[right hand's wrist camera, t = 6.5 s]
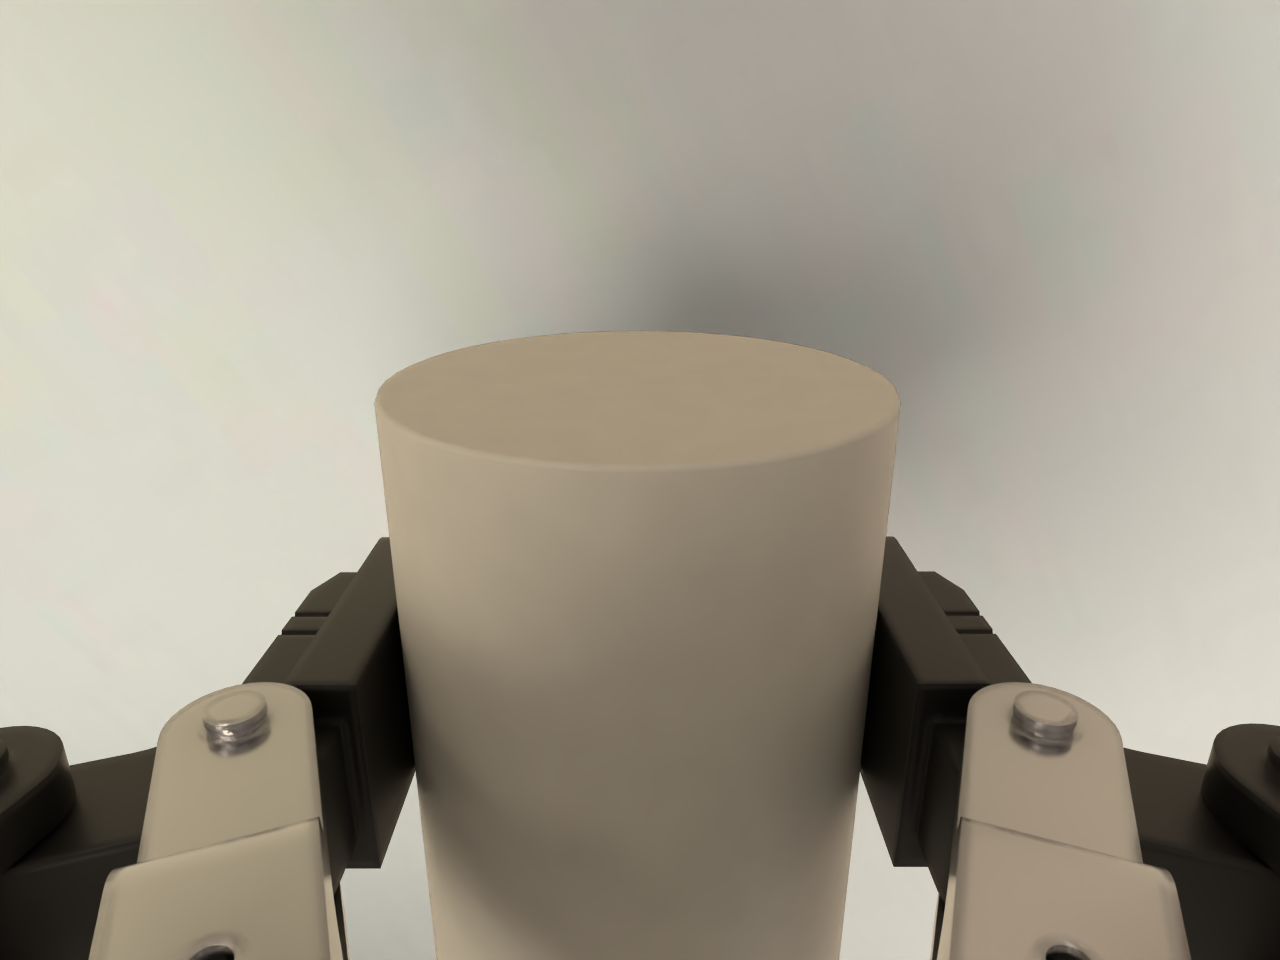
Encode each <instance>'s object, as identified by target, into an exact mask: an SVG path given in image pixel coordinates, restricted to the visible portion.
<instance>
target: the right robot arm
mask: <svg viewBox="0 0 1280 960" xmlns="http://www.w3.org/2000/svg"><path fill="white" fill-rule="evenodd" d="M992 630H993V629H992V628H991V627H990V625H989V624H988V623H987V621H986V620H985V618H984V617H983V616H980V615H979V610H978V609H977V608H976V606H975V605H974V603H973V602H972V601H971V599H970V598H969V597H968V595H967V594H966V593H965V591H964V590H963V589H961V588H960V587H958V586H956V585H955V584H953V583H952V582H950V581H949V580H947V579H945V578H944V577H942V576H941V575H939V574H938V573H936V572H917V570H916V569H915V567H914V566H913V564H912V562H911V561H910V559H909V558H908V556H907V555H906V553H905V552H904V550H903V549H902V547H901V546H900V544H899V543H898V541H897V540H896V538H895V537H886V540H885V549H884V558H883V567H882V576H881V585H880V594H879V603H878V612H877V621H876V630H875V639H874V648H873V657H872V666H871V675H870V684H869V693H868V702H867V711H866V720H865V729H864V738H863V747H862V757H861V766H860V772H861V775H862V778H863V781H864V784H865V787H866V789H867V792H868V795H869V798H870V801H871V804H872V807H873V809H874V812H875V815H876V818H877V821H878V824H879V826H880V829H881V832H882V835H883V838H884V841H885V843H886V846H887V849H888V852H889V855H890V858H891V860H892V863H893V866H894V867H928V868H929V870H930V873H931V875H932V878H933V880H934V883H935V885H936V888H937V890H938V899H937V906H936V912H935V920H934V929H933V938H932V947H931V956H930V960H1280V726H1275V725H1267V724H1240V725H1235V726H1231V727H1228V728H1226V729H1224V730H1222V731H1221V732H1220V733H1219V734H1217V736H1216V738H1215V740H1214V743H1213V746H1212V750H1211V753H1210V757H1209V760H1208V764H1207V765H1205V764H1200V763H1195V762H1190V761H1185V760H1180V759H1175V758H1170V757H1165V756H1160V755H1154V754H1149V753H1144V752H1140V751H1135V750H1131V749H1127V748H1123V744H1122V738H1121V735H1120V732H1119V730H1118V729H1117V727H1116V726H1115V724H1114V723H1113V722H1112V721H1111V720H1110V719H1109V717H1108V716H1106V715H1105V714H1104V713H1103V712H1102V711H1100V710H1099V709H1098V708H1096V707H1095V706H1093V705H1092V704H1090V703H1089V702H1087V701H1085V700H1083V699H1081V698H1079V697H1077V696H1075V695H1072V694H1070V693H1067V692H1065V691H1062V690H1059V689H1056V688H1052V687H1048V686H1044V685H1039V684H1032V683H1031V681H1030V680H1029V679H1028V677H1027V676H1026V674H1025V673H1024V672H1023V670H1022V669H1021V668H1020V666H1019V665H1018V664H1017V662H1016V661H1015V659H1014V658H1013V657H1012V655H1011V654H1010V653H1009V651H1008V650H1007V649H1006V647H1005V646H1004V644H1003V643H1002V642H1001V640H1000V639H999V638H998V636H997V635H996V634H993V632H992ZM415 770H416V769H415V760H414V752H413V743H412V734H411V725H410V716H409V707H408V698H407V689H406V680H405V671H404V662H403V654H402V645H401V636H400V627H399V618H398V609H397V600H396V591H395V582H394V573H393V564H392V556H391V547H390V538H389V537H382V538H380V539H379V541H378V542H377V544H376V545H375V547H374V548H373V550H372V551H371V553H370V554H369V556H368V557H367V559H366V560H365V562H364V563H363V565H362V566H361V568H360V569H359V571H358V572H340V573H339V574H337V575H336V576H334V577H332V578H331V579H329V580H328V581H326V582H325V583H323V584H321V585H320V586H318V587H317V588H315V589H313V590H312V591H311V592H310V593H309V595H308V596H307V597H306V599H305V600H304V601H303V603H302V604H301V605H300V607H299V608H298V609H297V611H296V612H295V617H291V619H290V620H289V621H288V623H287V624H286V625H285V627H284V628H283V629H282V635H278V636H277V638H276V639H275V640H274V642H273V643H272V644H271V646H270V647H269V648H268V650H267V651H266V652H265V654H264V655H263V656H262V658H261V659H260V660H259V662H258V663H257V664H256V666H255V667H254V669H253V670H252V671H251V673H250V674H249V675H248V677H247V678H246V679H245V681H244V682H243V683H242V684H241V685H236V686H232V687H228V688H224V689H221V690H218V691H215V692H213V693H210V694H208V695H205V696H203V697H201V698H199V699H197V700H195V701H193V702H191V703H190V704H188V705H187V706H185V707H184V708H182V709H181V710H180V711H178V712H177V713H176V714H175V715H174V716H172V717H171V719H170V720H169V721H168V722H167V723H166V724H165V726H164V727H163V729H162V730H161V732H160V735H159V738H158V743H157V747H154V748H151V749H148V750H144V751H140V752H136V753H131V754H126V755H121V756H116V757H111V758H106V759H101V760H96V761H91V762H86V763H81V764H76V765H71V766H69V764H68V760H67V757H66V753H65V750H64V746H63V743H62V741H61V739H60V737H59V736H58V735H56V734H55V733H54V732H52V731H50V730H48V729H44V728H40V727H32V726H13V727H5V728H0V960H350V956H349V947H348V938H347V929H346V920H345V912H344V906H343V899H342V893H341V887H340V881H341V878H342V876H343V873H344V871H345V868H381V865H382V862H383V859H384V857H385V854H386V851H387V848H388V845H389V843H390V840H391V837H392V834H393V832H394V829H395V826H396V823H397V820H398V818H399V815H400V812H401V809H402V807H403V804H404V801H405V798H406V795H407V793H408V790H409V787H410V784H411V782H412V779H413V776H414V773H415Z"/></svg>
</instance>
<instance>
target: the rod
mask: <svg viewBox="0 0 1280 960" xmlns="http://www.w3.org/2000/svg"><path fill="white" fill-rule="evenodd" d="M374 404H375V413H376V422H377V431H378V440H379V449H380V458H381V466H382V475H383V484H384V493H385V502H386V511H387V520H388V529H389V538H390V547H391V556H392V564H393V573H394V582H395V591H396V600H397V609H398V618H399V627H400V636H401V645H402V654H403V662H404V671H405V680H406V689H407V698H408V707H409V716H410V725H411V734H412V743H413V752H414V760H415V769H416V778H417V787H418V796H419V805H420V814H421V823H422V832H423V841H424V850H425V858H426V867H427V876H428V885H429V894H430V903H431V912H432V921H433V930H434V939H435V948H436V956H437V960H839V955H840V946H841V937H842V928H843V919H844V910H845V901H846V892H847V883H848V874H849V865H850V856H851V847H852V838H853V829H854V820H855V811H856V802H857V793H858V784H859V775H860V766H861V757H862V747H863V738H864V729H865V720H866V711H867V702H868V693H869V684H870V675H871V666H872V657H873V648H874V639H875V630H876V621H877V612H878V603H879V594H880V585H881V576H882V567H883V558H884V549H885V540H886V531H887V522H888V512H889V503H890V494H891V485H892V476H893V467H894V458H895V449H896V440H897V431H898V422H899V413H900V404H901V403H900V399H899V396H898V393H897V390H896V388H895V387H894V386H893V385H892V383H891V382H890V381H889V380H887V379H886V378H885V377H884V376H882V375H881V374H880V373H878V372H876V371H874V370H872V369H870V368H868V367H867V366H864V365H862V364H859V363H857V362H854V361H852V360H849V359H847V358H844V357H841V356H838V355H835V354H831V353H828V352H824V351H820V350H816V349H812V348H808V347H804V346H799V345H794V344H789V343H783V342H777V341H771V340H765V339H757V338H750V337H742V336H732V335H721V334H709V333H694V332H672V331H604V332H582V333H566V334H554V335H544V336H534V337H526V338H518V339H511V340H505V341H498V342H492V343H487V344H482V345H477V346H472V347H467V348H463V349H459V350H455V351H451V352H447V353H444V354H441V355H438V356H435V357H431V358H429V359H426V360H423V361H421V362H418V363H416V364H413V365H411V366H409V367H407V368H405V369H403V370H401V371H399V372H397V373H396V374H394V375H393V376H392V377H390V378H389V379H388V380H386V381H385V382H384V384H383V385H382V386H381V387H380V388H379V390H378V393H377V396H376V399H375V402H374Z"/></svg>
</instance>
